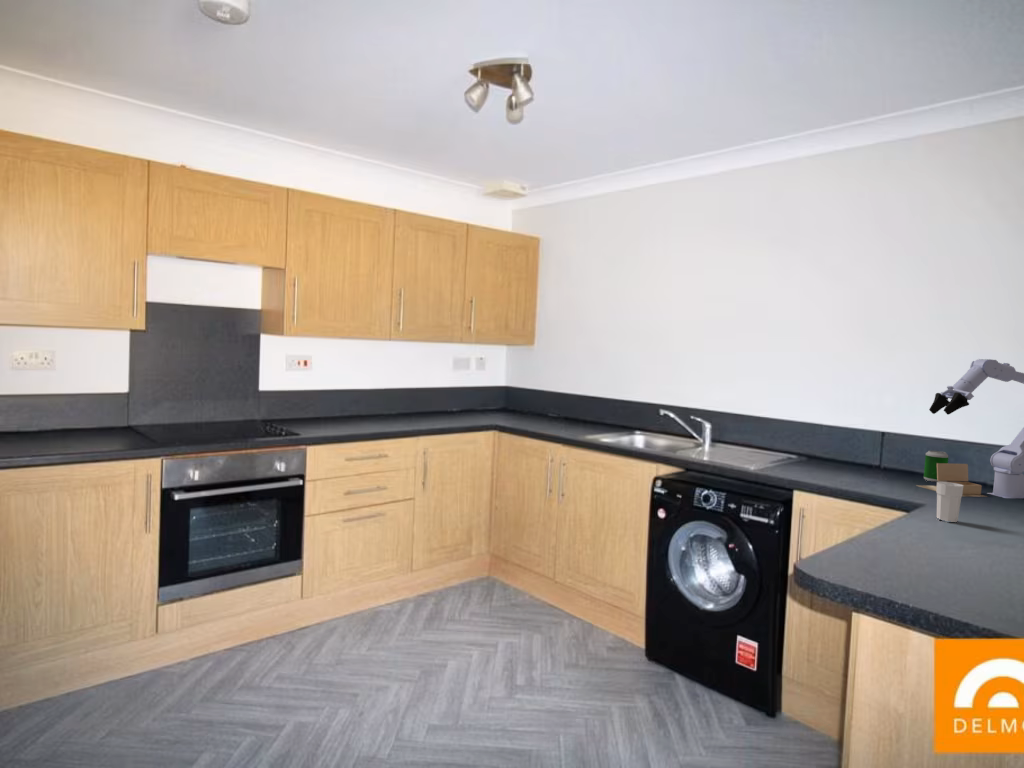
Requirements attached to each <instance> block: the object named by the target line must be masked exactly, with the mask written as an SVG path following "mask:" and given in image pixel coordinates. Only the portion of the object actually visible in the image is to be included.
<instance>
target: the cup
mask: <svg viewBox="0 0 1024 768" xmlns="http://www.w3.org/2000/svg"><path fill="white" fill-rule="evenodd" d="M951 482H952V481H949V482H936V486H937V491H936V517H937V518H939V519H941V520H945V521H951V522H957V521H958V522H959V514H960V509H961V501H962V497H963V496H962V494H963V487H964V486H963V485H961V484H957V483H951ZM958 522H957V523H958Z"/></svg>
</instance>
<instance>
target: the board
mask: <svg viewBox="0 0 1024 768" xmlns="http://www.w3.org/2000/svg"><path fill="white" fill-rule="evenodd" d="M915 486H916V487H919V488H923V489H926V490H930V491H934V492H937V485H920V484H919V485H918V484H916V485H915ZM962 497H980V498H983V497H985V498H986V497H987V498H988V497H989V496H987V495H983V494H981V495H962Z"/></svg>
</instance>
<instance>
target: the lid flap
mask: <svg viewBox="0 0 1024 768" xmlns="http://www.w3.org/2000/svg"><path fill="white" fill-rule="evenodd" d="M937 481H949V482H969V465H968V463H949V462H948V463H937Z"/></svg>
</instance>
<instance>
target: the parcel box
mask: <svg viewBox="0 0 1024 768" xmlns="http://www.w3.org/2000/svg"><path fill="white" fill-rule="evenodd" d="M938 482H951V483H957V484H961V485H963V486H964V487H963V494H962V495H982V487H983V486H982V485H981V484H977V483H973V482H970V481H938Z"/></svg>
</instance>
